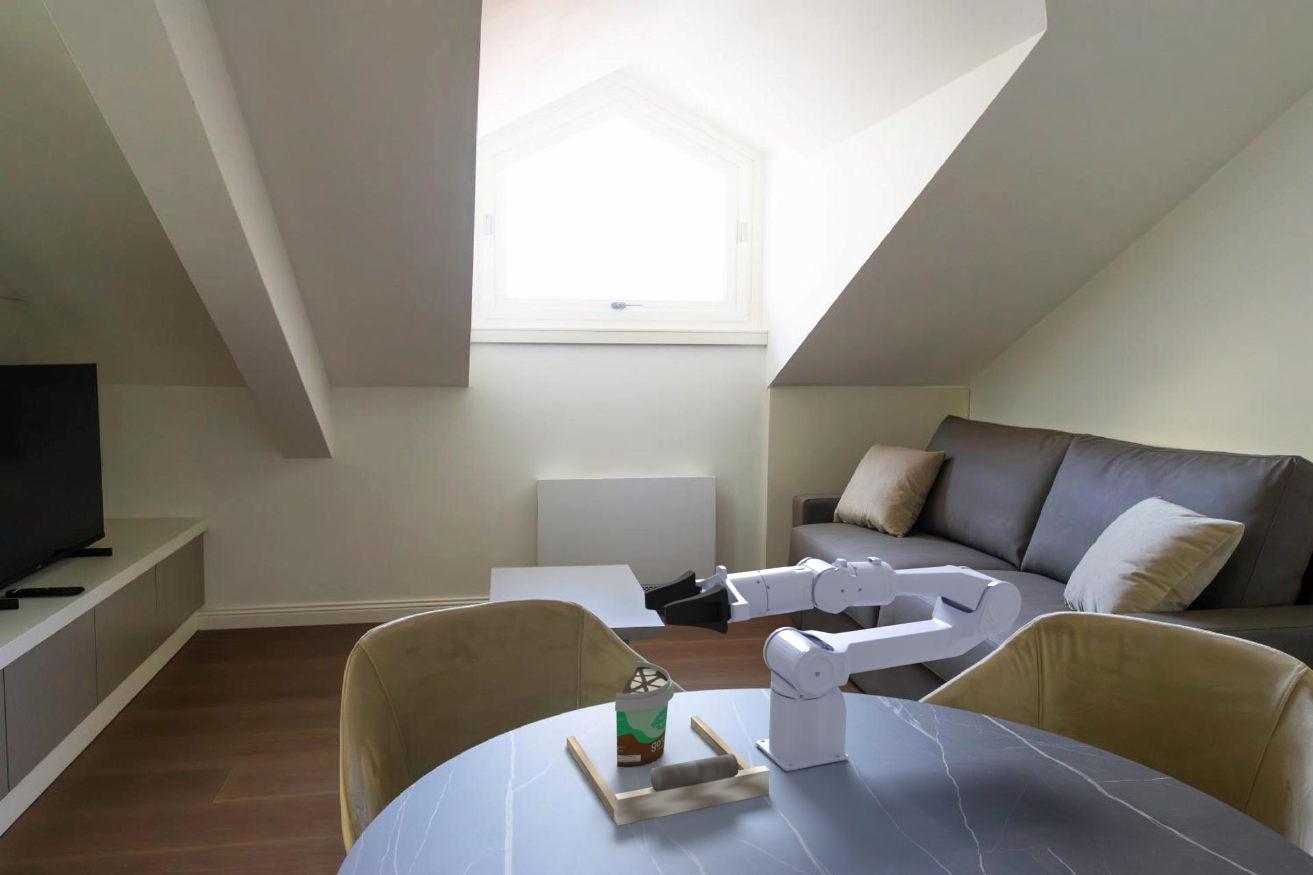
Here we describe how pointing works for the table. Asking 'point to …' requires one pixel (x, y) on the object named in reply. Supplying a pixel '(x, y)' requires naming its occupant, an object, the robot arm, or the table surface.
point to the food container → (642, 716)
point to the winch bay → (681, 782)
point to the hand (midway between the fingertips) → (654, 607)
